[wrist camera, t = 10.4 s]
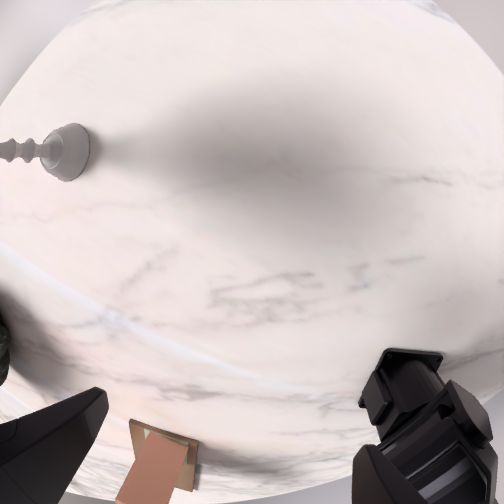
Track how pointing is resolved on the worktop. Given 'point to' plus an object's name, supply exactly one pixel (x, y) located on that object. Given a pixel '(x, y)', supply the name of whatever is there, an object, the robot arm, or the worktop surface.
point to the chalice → (54, 151)
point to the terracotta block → (153, 472)
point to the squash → (4, 353)
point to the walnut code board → (189, 464)
